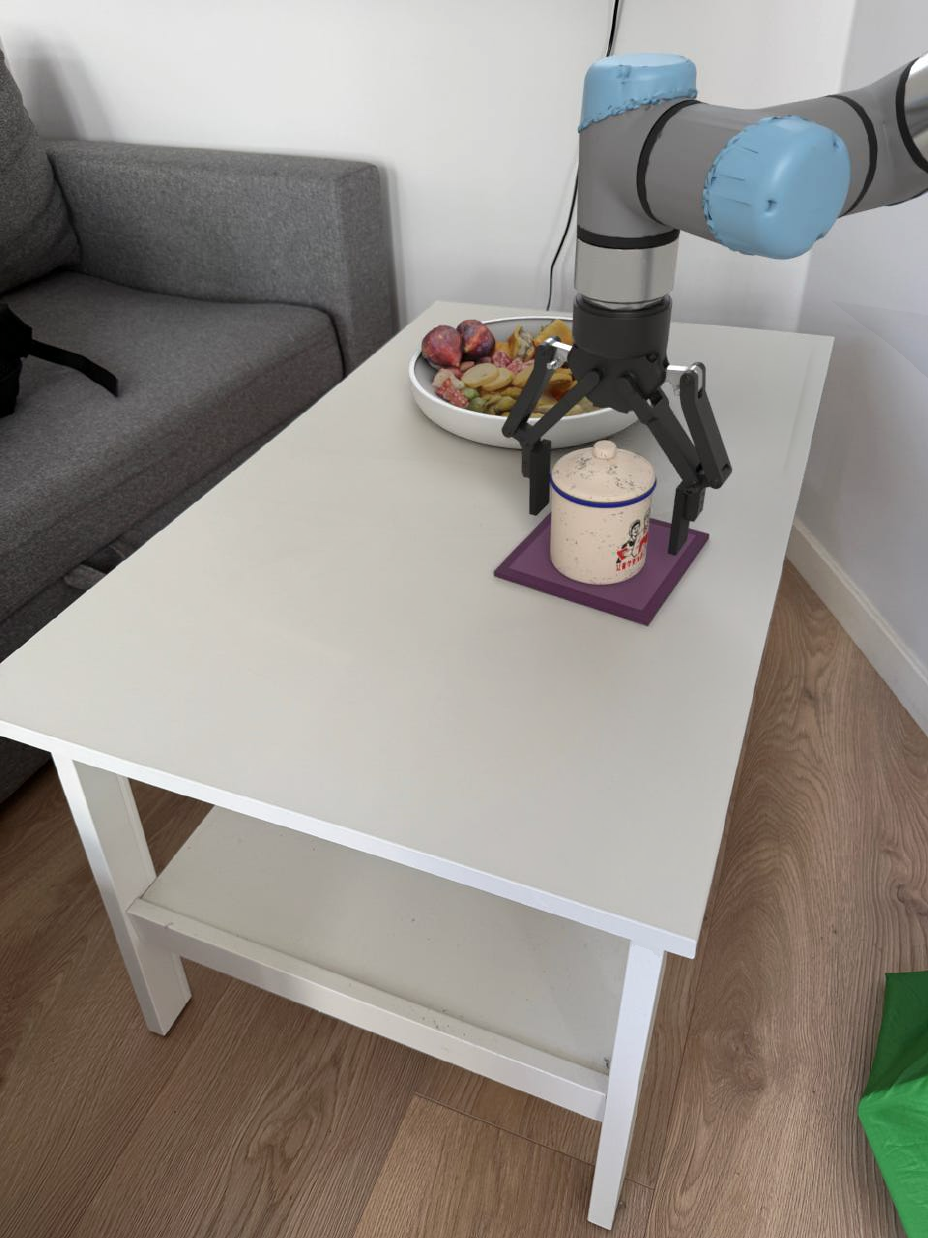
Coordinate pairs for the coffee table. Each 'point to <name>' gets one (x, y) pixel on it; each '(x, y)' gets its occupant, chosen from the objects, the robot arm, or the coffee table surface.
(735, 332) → the coffee table surface
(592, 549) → the teacup with lid
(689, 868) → the coffee table surface
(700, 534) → the place mat
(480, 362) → the bowl
